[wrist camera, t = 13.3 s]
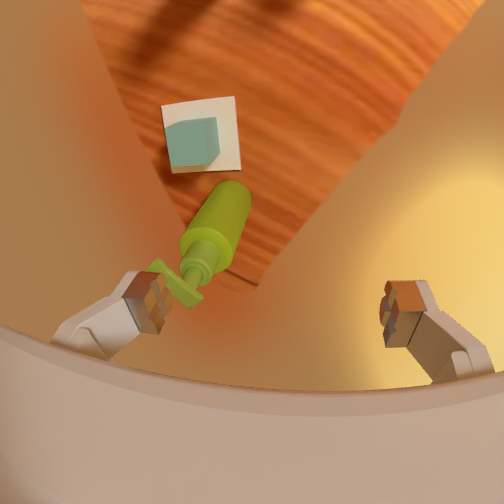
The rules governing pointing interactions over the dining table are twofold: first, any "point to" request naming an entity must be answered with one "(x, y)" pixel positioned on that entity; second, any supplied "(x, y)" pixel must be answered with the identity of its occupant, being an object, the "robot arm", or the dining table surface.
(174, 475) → the robot arm
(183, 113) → the coaster
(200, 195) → the dining table surface
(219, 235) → the soap dispenser
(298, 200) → the dining table surface
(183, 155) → the block
